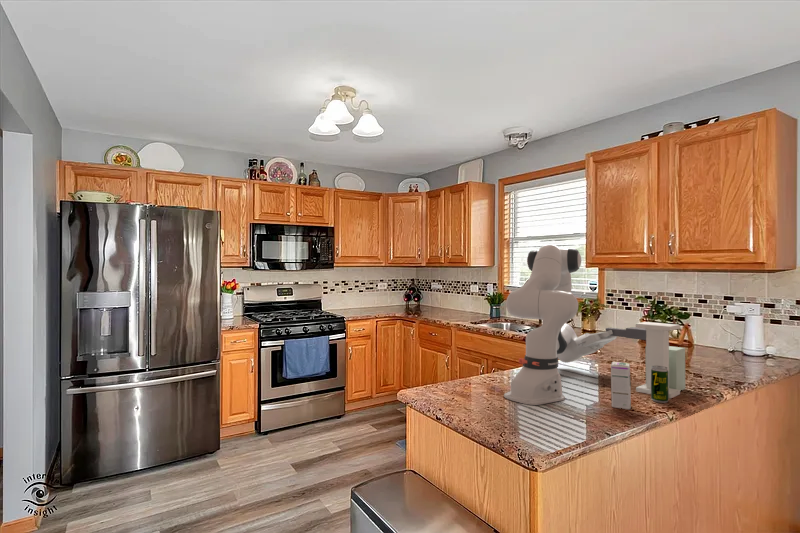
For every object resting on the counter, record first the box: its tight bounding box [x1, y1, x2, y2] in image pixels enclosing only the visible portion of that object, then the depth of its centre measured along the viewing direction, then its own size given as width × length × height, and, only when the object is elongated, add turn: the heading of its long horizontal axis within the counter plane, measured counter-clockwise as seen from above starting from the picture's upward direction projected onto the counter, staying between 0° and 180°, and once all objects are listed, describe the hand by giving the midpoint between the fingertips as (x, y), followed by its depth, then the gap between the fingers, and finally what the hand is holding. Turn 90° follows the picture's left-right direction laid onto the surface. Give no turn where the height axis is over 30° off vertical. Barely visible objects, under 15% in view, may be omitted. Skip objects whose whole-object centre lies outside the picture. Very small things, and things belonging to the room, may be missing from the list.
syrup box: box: [610, 361, 632, 410], centre depth 148 cm, size 6×6×14 cm
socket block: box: [645, 345, 686, 392], centre depth 172 cm, size 9×11×16 cm
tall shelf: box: [635, 321, 681, 399], centre depth 165 cm, size 9×12×26 cm
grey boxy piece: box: [605, 326, 646, 341], centre depth 182 cm, size 20×6×4 cm, turn 39°
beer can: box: [650, 366, 670, 404], centre depth 154 cm, size 5×5×12 cm
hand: (615, 331), depth 187 cm, fingers closed on grey boxy piece, 3 cm apart
